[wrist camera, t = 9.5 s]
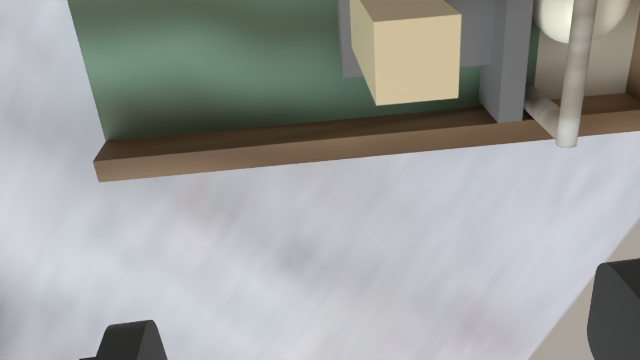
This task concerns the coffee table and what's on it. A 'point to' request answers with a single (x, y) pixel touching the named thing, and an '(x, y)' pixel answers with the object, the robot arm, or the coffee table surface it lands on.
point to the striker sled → (437, 49)
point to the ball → (556, 17)
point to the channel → (316, 88)
